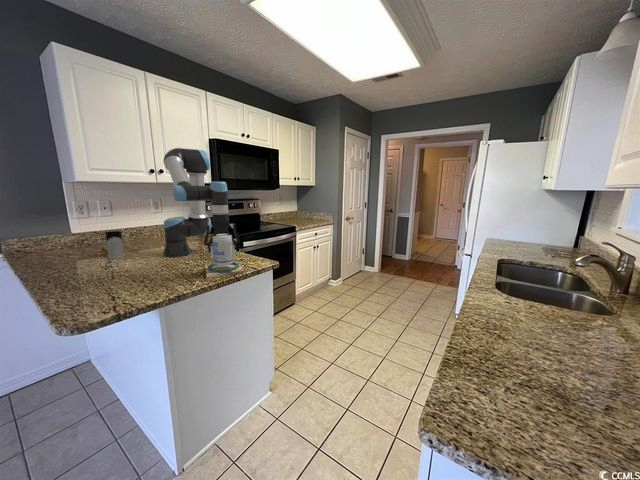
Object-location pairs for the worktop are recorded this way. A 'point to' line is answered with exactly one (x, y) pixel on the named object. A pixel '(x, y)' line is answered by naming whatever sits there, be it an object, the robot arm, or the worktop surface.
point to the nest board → (223, 270)
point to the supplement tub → (222, 249)
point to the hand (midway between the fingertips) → (223, 257)
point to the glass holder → (114, 244)
